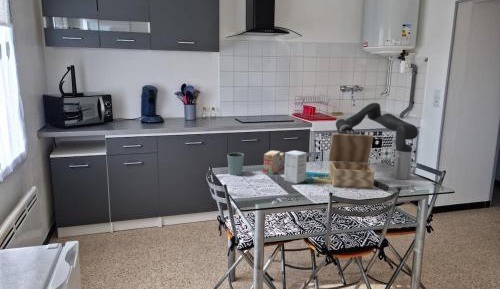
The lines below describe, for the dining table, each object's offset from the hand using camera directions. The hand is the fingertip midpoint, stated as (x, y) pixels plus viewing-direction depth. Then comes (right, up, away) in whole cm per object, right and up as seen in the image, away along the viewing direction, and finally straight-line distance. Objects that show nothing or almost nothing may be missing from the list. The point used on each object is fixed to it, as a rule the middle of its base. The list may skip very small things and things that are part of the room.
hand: (352, 136), depth 220 cm
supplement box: (-33, -26, +3) cm, 42 cm away
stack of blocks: (-44, -21, +24) cm, 54 cm away
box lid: (0, -8, +1) cm, 8 cm away
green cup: (-68, -22, +13) cm, 73 cm away
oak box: (-1, -27, +1) cm, 27 cm away
